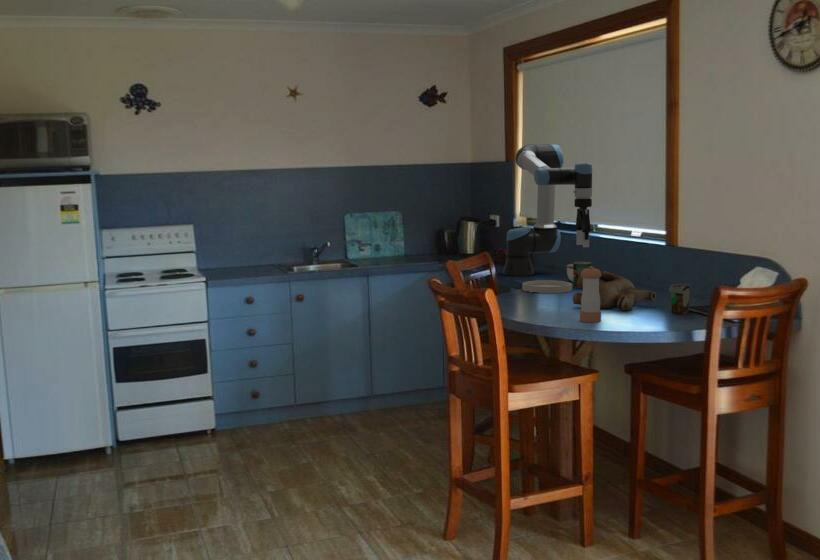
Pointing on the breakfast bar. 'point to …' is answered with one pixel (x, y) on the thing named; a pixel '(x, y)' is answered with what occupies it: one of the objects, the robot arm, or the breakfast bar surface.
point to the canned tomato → (579, 270)
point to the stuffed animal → (616, 292)
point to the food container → (680, 298)
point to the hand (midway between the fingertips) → (582, 246)
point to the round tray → (547, 286)
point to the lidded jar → (570, 271)
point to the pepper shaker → (590, 296)
